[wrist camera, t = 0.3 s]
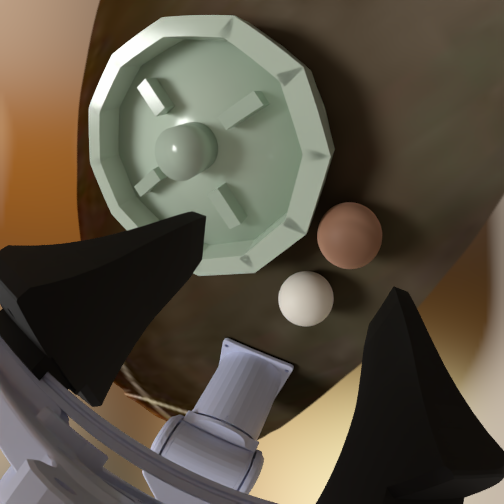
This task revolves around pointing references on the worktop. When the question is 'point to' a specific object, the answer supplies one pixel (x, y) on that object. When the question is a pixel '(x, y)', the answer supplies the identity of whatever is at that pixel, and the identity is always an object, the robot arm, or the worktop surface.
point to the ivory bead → (306, 298)
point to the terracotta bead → (349, 235)
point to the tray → (246, 153)
